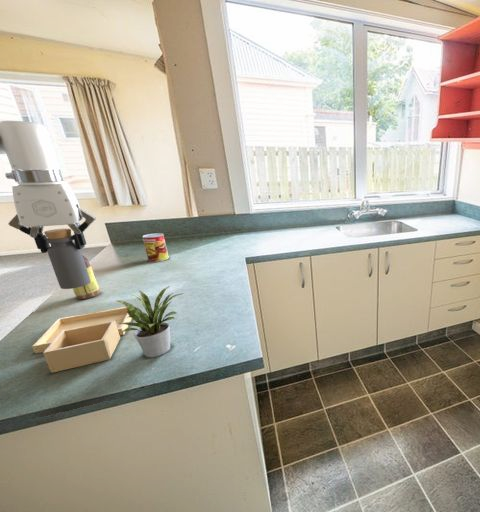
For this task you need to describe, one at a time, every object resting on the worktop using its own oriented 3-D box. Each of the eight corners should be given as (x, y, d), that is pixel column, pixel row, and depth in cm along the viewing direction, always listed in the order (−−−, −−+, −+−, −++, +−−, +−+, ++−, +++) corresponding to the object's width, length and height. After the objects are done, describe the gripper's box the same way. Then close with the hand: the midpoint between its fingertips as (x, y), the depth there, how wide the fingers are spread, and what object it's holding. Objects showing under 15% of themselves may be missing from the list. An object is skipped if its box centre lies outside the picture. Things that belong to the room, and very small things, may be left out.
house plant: (198, 328, 85) (186, 275, 80) (195, 355, 73) (181, 295, 68) (135, 341, 79) (119, 285, 73) (121, 373, 67) (100, 309, 62)
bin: (51, 373, 67) (42, 352, 65) (68, 348, 75) (62, 330, 74) (110, 359, 72) (103, 340, 70) (120, 338, 80) (115, 320, 78)
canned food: (144, 261, 139) (138, 236, 136) (160, 256, 146) (155, 232, 143) (156, 262, 137) (150, 237, 133) (172, 257, 144) (167, 233, 141)
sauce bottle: (101, 290, 108) (84, 238, 102) (100, 296, 103) (82, 242, 97) (76, 295, 104) (57, 241, 98) (74, 301, 99) (54, 245, 93)
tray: (35, 353, 73) (32, 346, 73) (60, 325, 86) (58, 318, 85) (123, 335, 81) (121, 328, 81) (135, 311, 94) (133, 305, 93)
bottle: (55, 287, 77) (34, 231, 73) (82, 279, 83) (65, 227, 78) (68, 290, 76) (49, 233, 71) (96, 282, 81) (79, 228, 76)
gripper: (-26, 179, 63) (7, 258, 69) (82, 178, 72) (103, 249, 77) (-5, 177, 70) (23, 250, 75) (92, 176, 78) (111, 242, 83)
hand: (64, 249), depth 76 cm, fingers closed on bottle, 5 cm apart
